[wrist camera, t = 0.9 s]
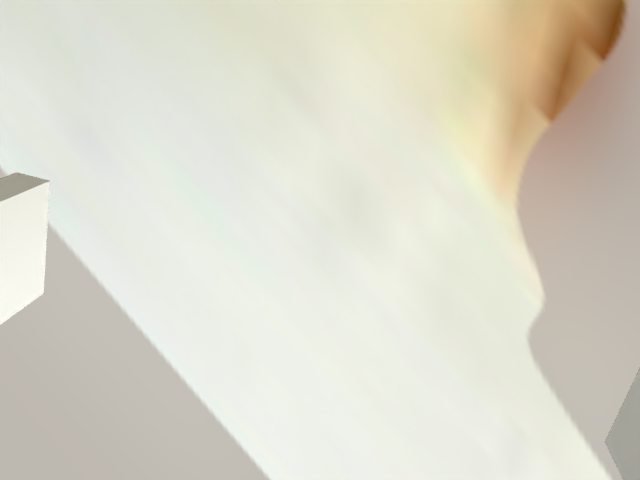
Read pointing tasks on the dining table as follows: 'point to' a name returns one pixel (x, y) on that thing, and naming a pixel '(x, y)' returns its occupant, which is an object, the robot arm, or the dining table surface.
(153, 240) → the dining table surface
